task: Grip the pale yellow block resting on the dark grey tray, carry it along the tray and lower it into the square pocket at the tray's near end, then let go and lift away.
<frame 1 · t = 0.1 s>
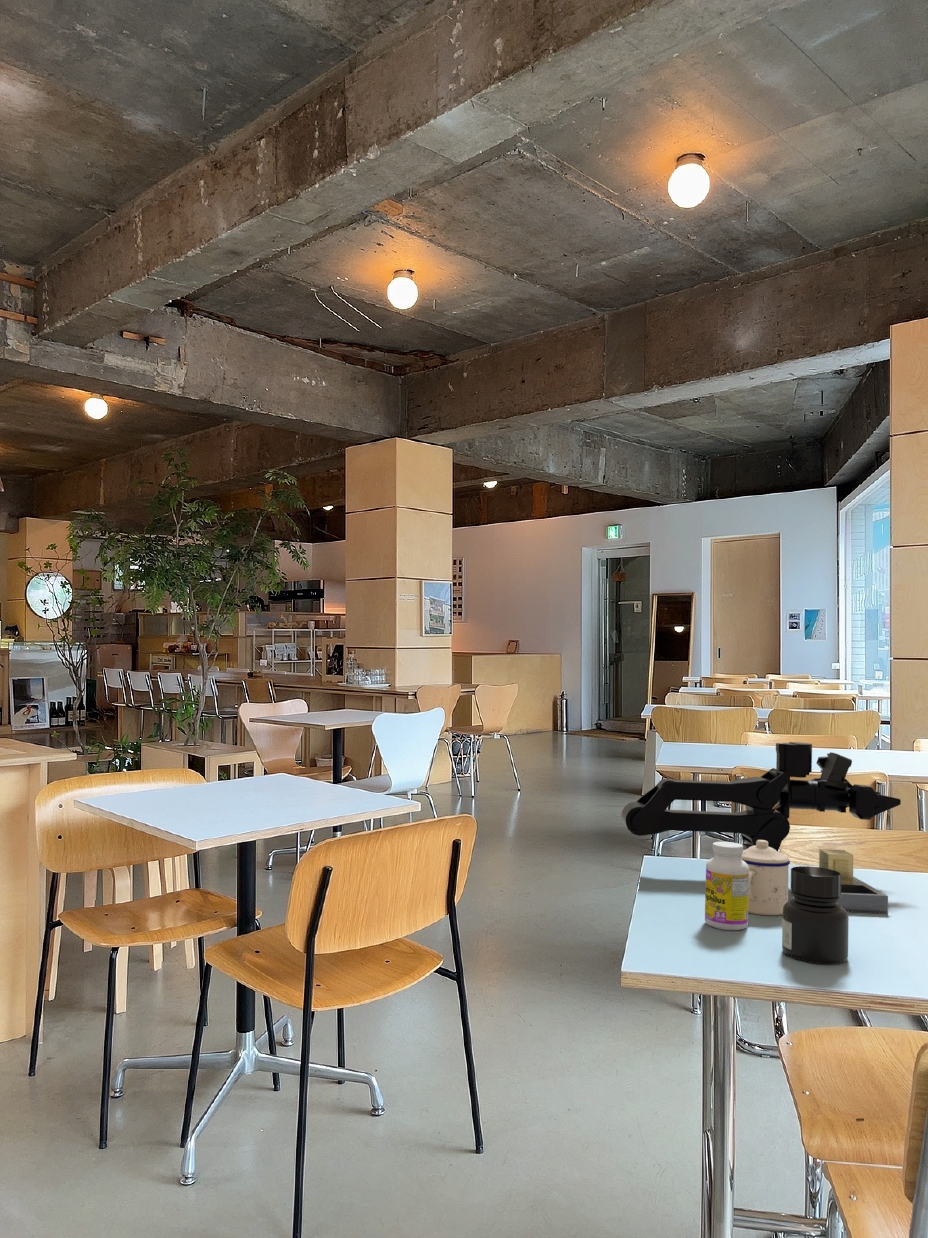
hand: (889, 798, 181), 17 cm above the table, tool horizontal, fingers open, 9 cm apart
pale yellow block: (835, 879, 167), point 3 cm above the table, touching dark grey tray
supplement bottle: (726, 927, 145), on the table
dark grey tray: (844, 901, 163), on the table
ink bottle: (814, 957, 131), on the table
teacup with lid: (758, 912, 155), on the table
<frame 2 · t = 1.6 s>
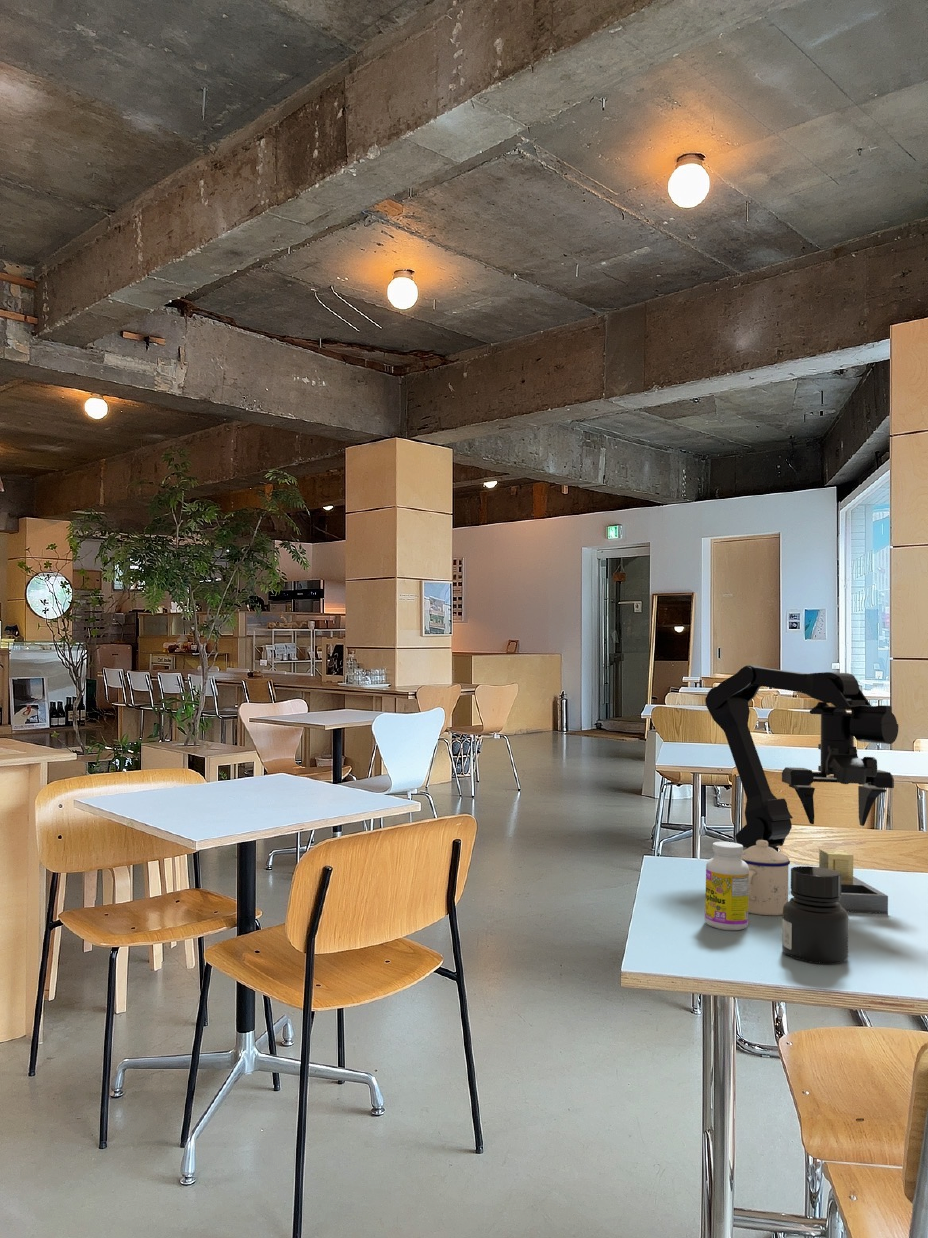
hand: (836, 824, 168), 13 cm above the table, tool pointing down, fingers open, 9 cm apart
nothing on the table moved.
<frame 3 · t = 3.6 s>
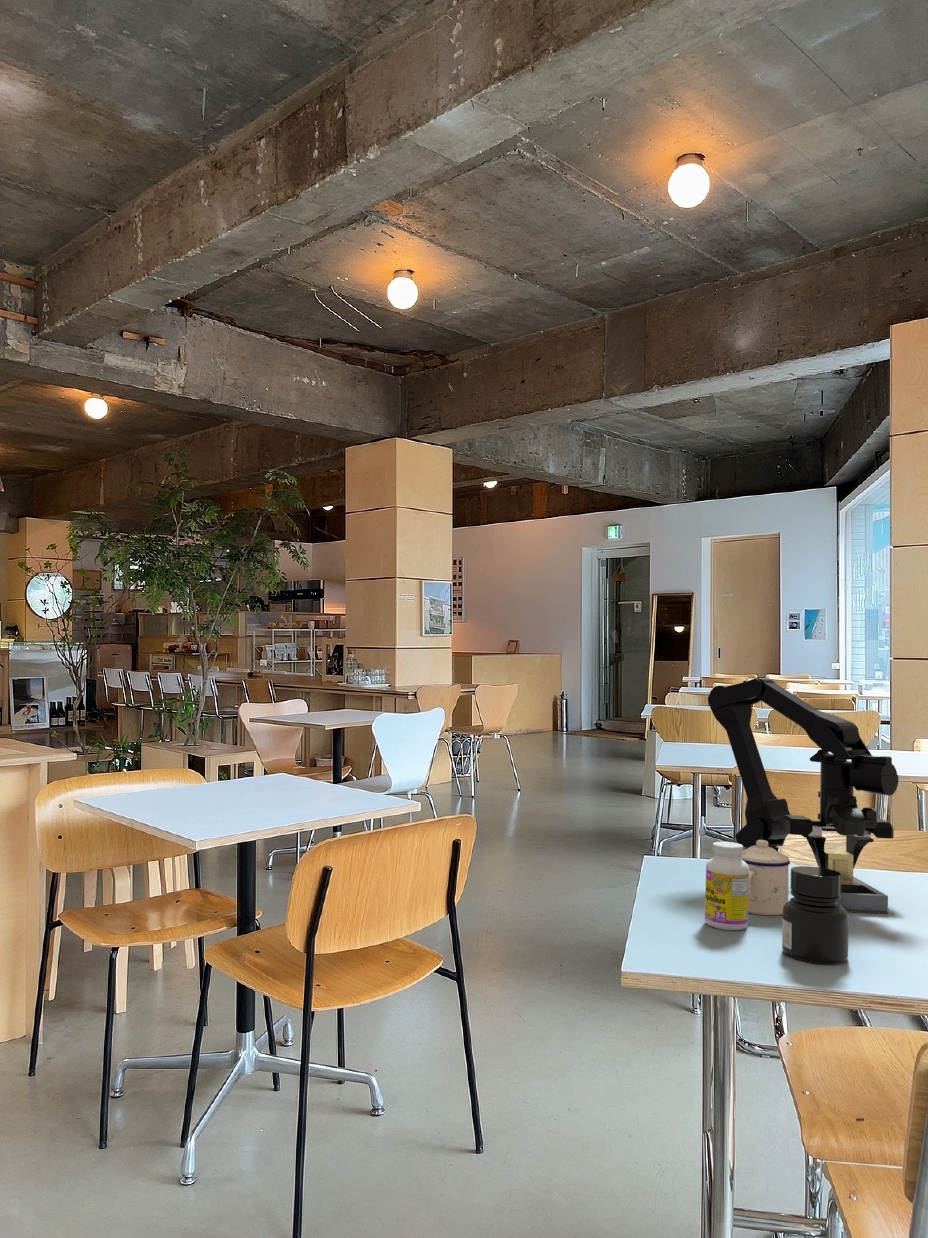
hand: (835, 873, 167), 4 cm above the table, tool pointing down, fingers closed on pale yellow block, 4 cm apart
pale yellow block: (835, 879, 167), point 3 cm above the table, touching gripper, dark grey tray
everything else where it was.
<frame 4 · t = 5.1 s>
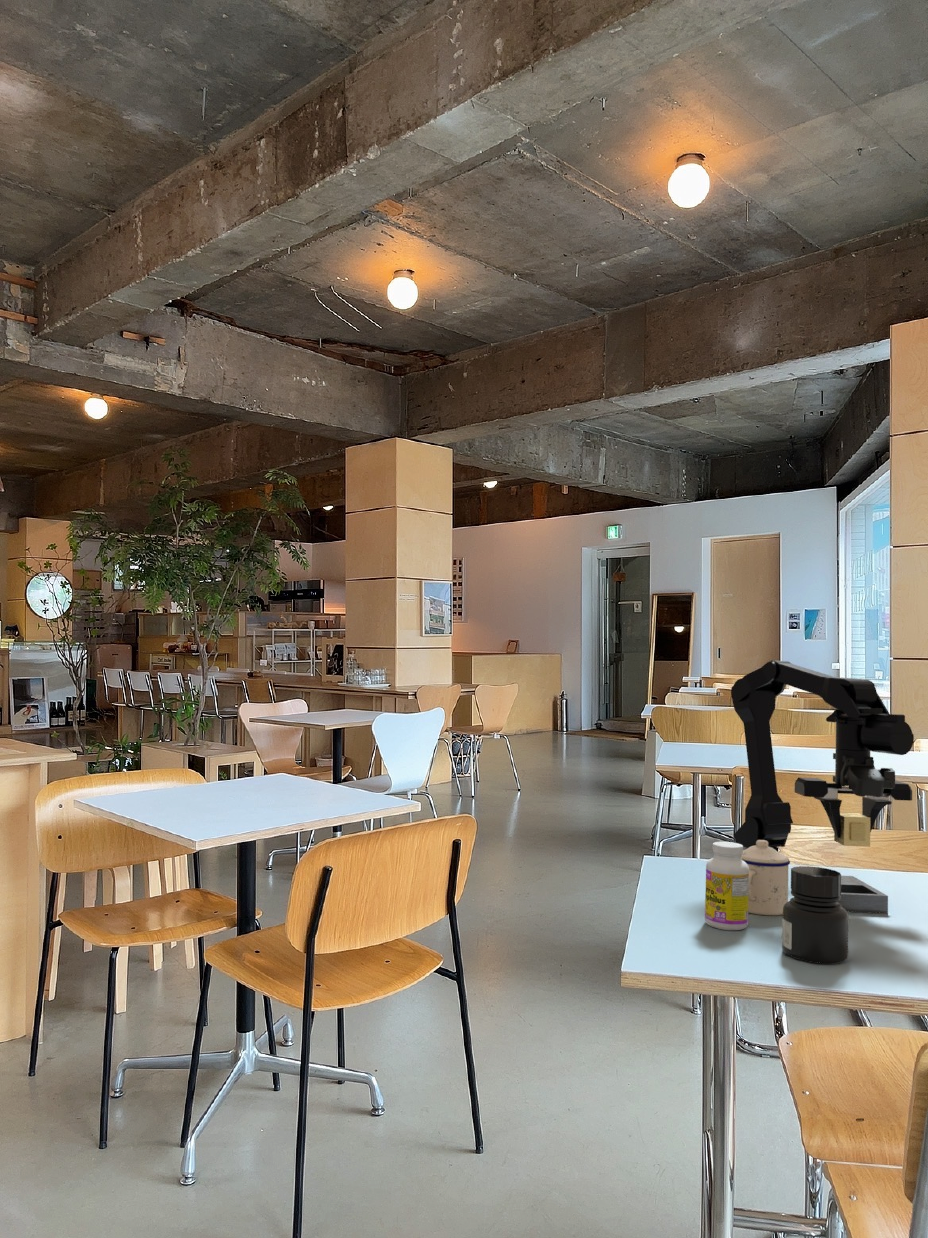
hand: (851, 838, 161), 12 cm above the table, tool pointing down, fingers closed on pale yellow block, 4 cm apart
pale yellow block: (851, 843, 161), point 11 cm above the table, touching gripper
everything else where it was.
when the fingers open (4 cm above the table, at t = 7.0 s): pale yellow block drops 2 cm, resting on dark grey tray.
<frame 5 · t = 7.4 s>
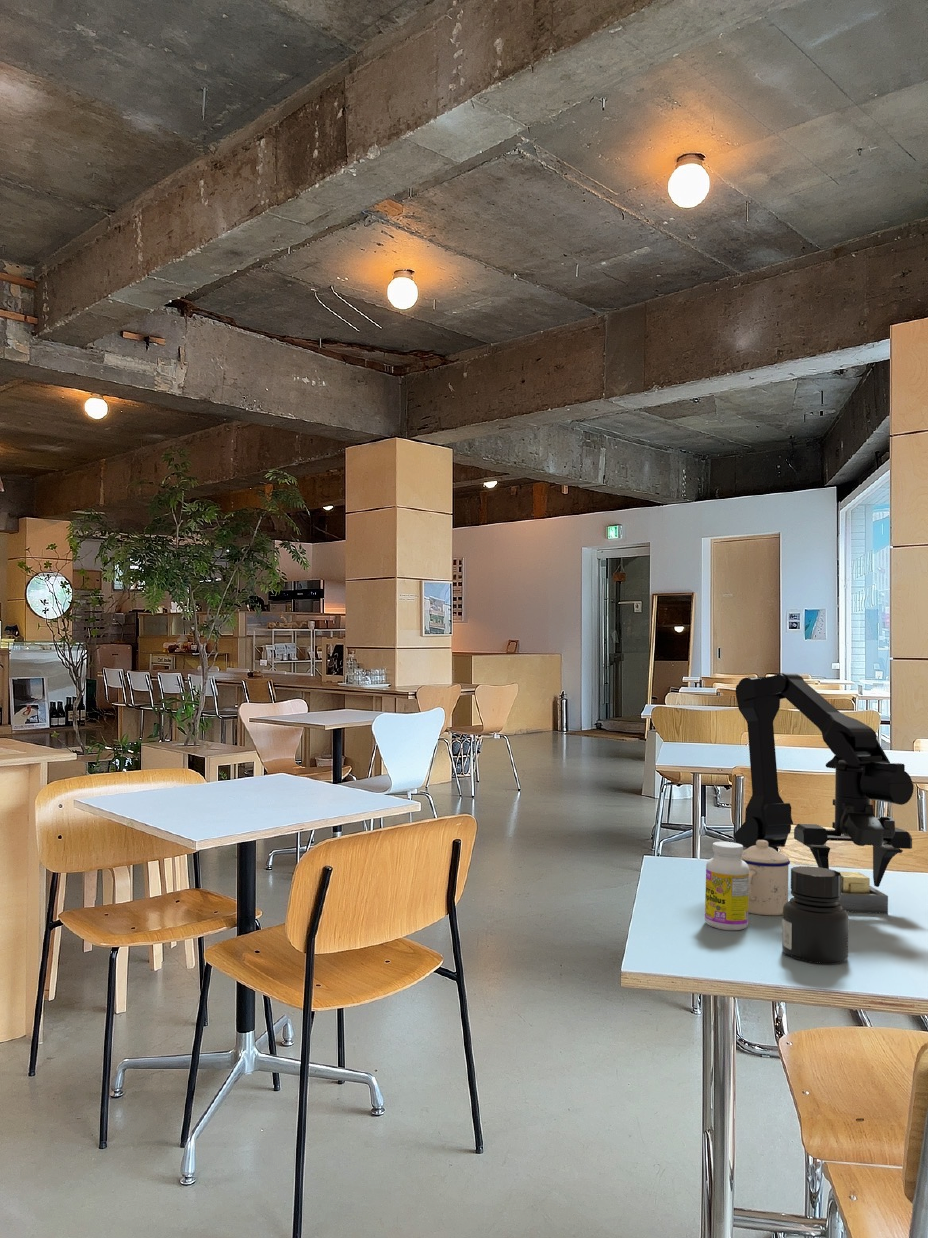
hand: (851, 885, 160), 4 cm above the table, tool pointing down, fingers open, 8 cm apart
pale yellow block: (851, 903, 160), resting on dark grey tray
everything else where it was.
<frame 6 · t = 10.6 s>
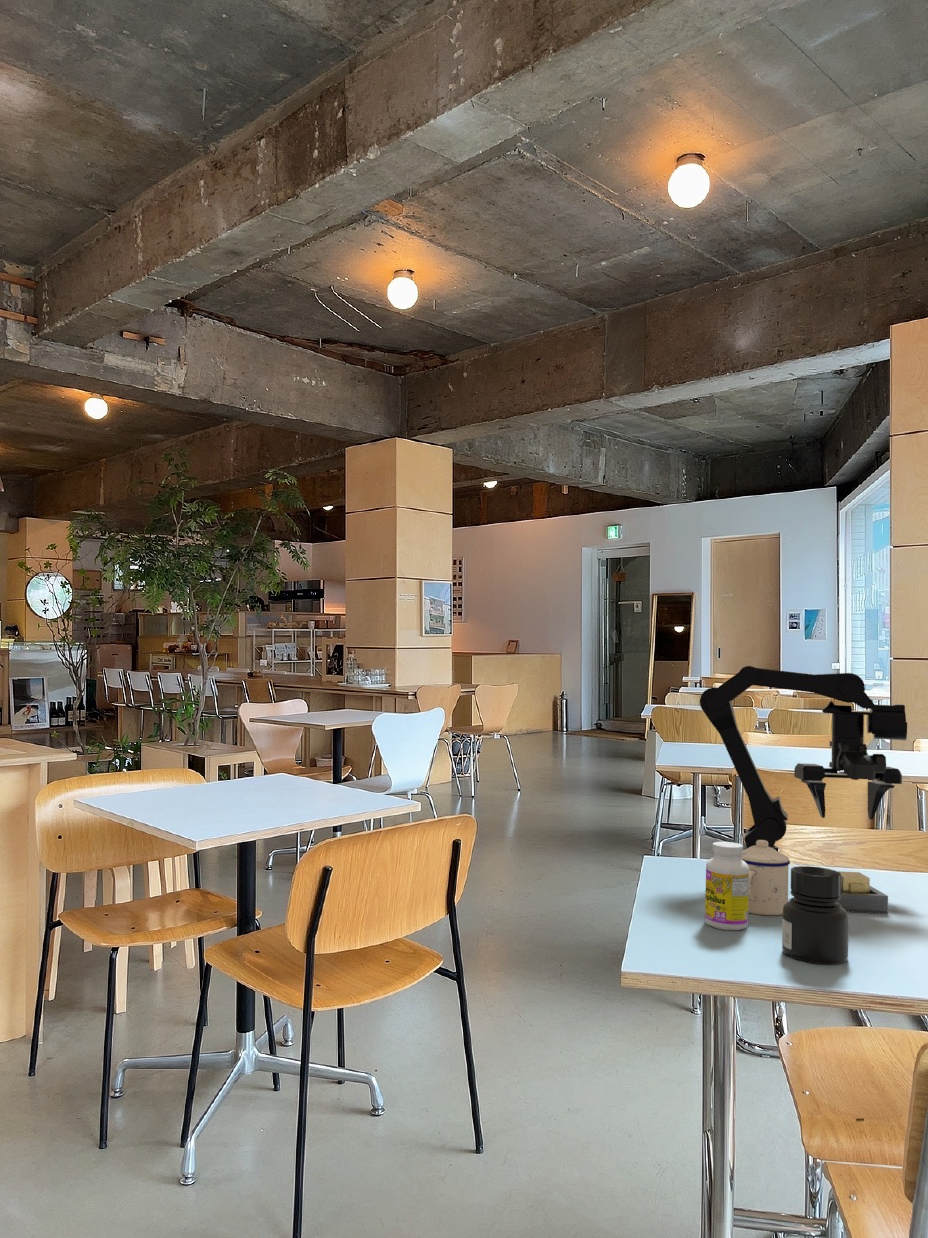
hand: (846, 818, 176), 13 cm above the table, tool pointing down, fingers open, 9 cm apart
nothing on the table moved.
at the end: pale yellow block 0.1 cm from the target spot on the dark grey tray, point 0.5 cm above the dark grey tray's base; pale yellow block tilted 0°; the gripper is holding nothing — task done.
